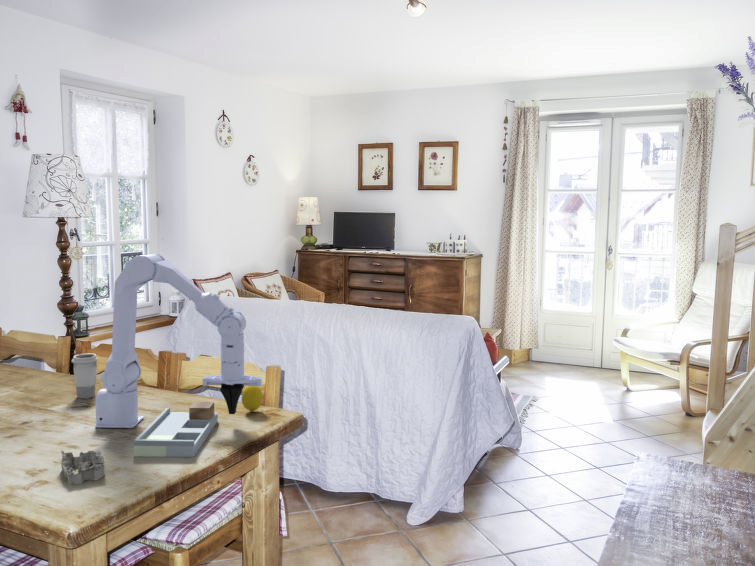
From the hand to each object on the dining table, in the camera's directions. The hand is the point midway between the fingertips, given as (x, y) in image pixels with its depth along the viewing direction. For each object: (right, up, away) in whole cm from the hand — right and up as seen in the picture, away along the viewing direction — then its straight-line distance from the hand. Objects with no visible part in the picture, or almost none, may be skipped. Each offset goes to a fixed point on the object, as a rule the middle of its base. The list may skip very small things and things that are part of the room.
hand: (232, 412), depth 153 cm
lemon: (+3, -2, +11) cm, 12 cm away
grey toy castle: (-24, -7, -29) cm, 38 cm away
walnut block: (-8, -1, 0) cm, 8 cm away
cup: (-48, 0, +22) cm, 52 cm away
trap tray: (-11, -4, -8) cm, 14 cm away
